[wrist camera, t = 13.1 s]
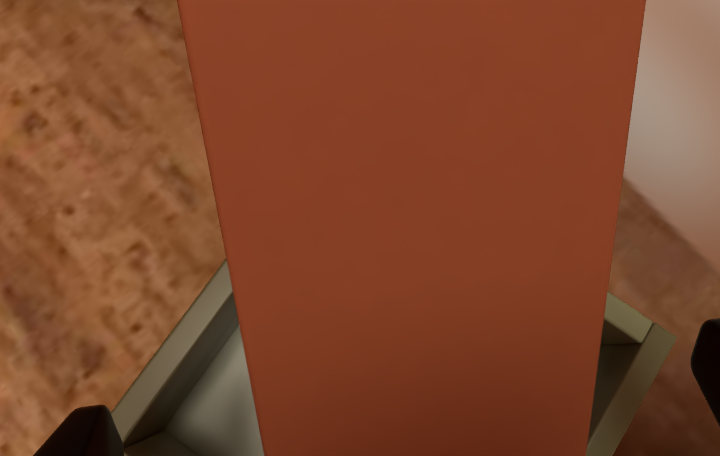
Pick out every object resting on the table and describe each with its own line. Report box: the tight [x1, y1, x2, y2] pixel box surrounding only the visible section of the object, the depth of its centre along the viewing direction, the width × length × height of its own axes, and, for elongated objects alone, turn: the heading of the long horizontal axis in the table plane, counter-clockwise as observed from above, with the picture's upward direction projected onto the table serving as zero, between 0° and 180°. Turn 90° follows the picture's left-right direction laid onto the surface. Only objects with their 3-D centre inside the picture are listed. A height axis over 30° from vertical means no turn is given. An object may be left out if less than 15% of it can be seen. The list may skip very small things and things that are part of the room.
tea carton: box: [177, 0, 646, 456], centre depth 11 cm, size 4×6×12 cm
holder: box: [111, 259, 677, 456], centre depth 15 cm, size 9×9×4 cm
